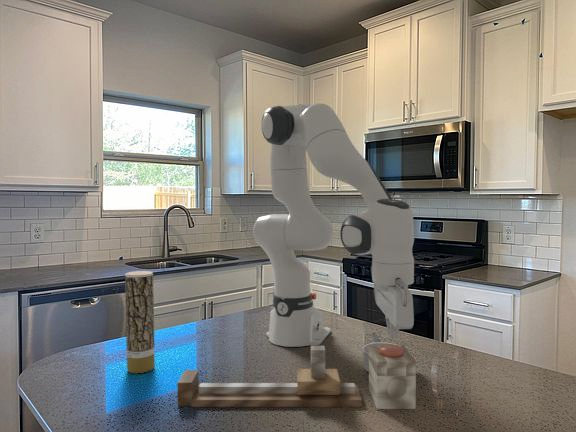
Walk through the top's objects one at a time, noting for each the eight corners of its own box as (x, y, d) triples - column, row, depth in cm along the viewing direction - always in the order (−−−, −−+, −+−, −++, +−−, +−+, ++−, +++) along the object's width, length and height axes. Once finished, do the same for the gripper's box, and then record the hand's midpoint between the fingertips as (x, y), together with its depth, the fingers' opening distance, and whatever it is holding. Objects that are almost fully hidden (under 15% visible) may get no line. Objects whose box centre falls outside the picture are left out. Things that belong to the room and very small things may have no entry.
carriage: (297, 397, 94) (297, 353, 94) (297, 383, 101) (297, 342, 101) (340, 397, 94) (340, 353, 94) (336, 383, 101) (336, 342, 101)
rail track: (175, 409, 93) (174, 362, 92) (187, 388, 103) (186, 346, 103) (416, 409, 92) (416, 362, 92) (403, 388, 103) (403, 345, 102)
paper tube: (146, 375, 111) (144, 275, 110) (121, 373, 112) (119, 275, 111) (159, 365, 118) (158, 271, 117) (136, 363, 119) (134, 270, 118)
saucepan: (393, 351, 128) (393, 332, 128) (413, 380, 108) (413, 357, 108) (353, 351, 128) (353, 332, 127) (366, 380, 108) (366, 357, 107)
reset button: (381, 371, 95) (381, 352, 95) (376, 362, 100) (377, 343, 100) (406, 370, 95) (406, 351, 95) (400, 361, 100) (400, 343, 100)
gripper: (422, 284, 87) (421, 353, 88) (395, 265, 107) (395, 322, 108) (389, 284, 87) (389, 354, 88) (369, 266, 107) (369, 322, 108)
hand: (392, 336), depth 98 cm, fingers closed
